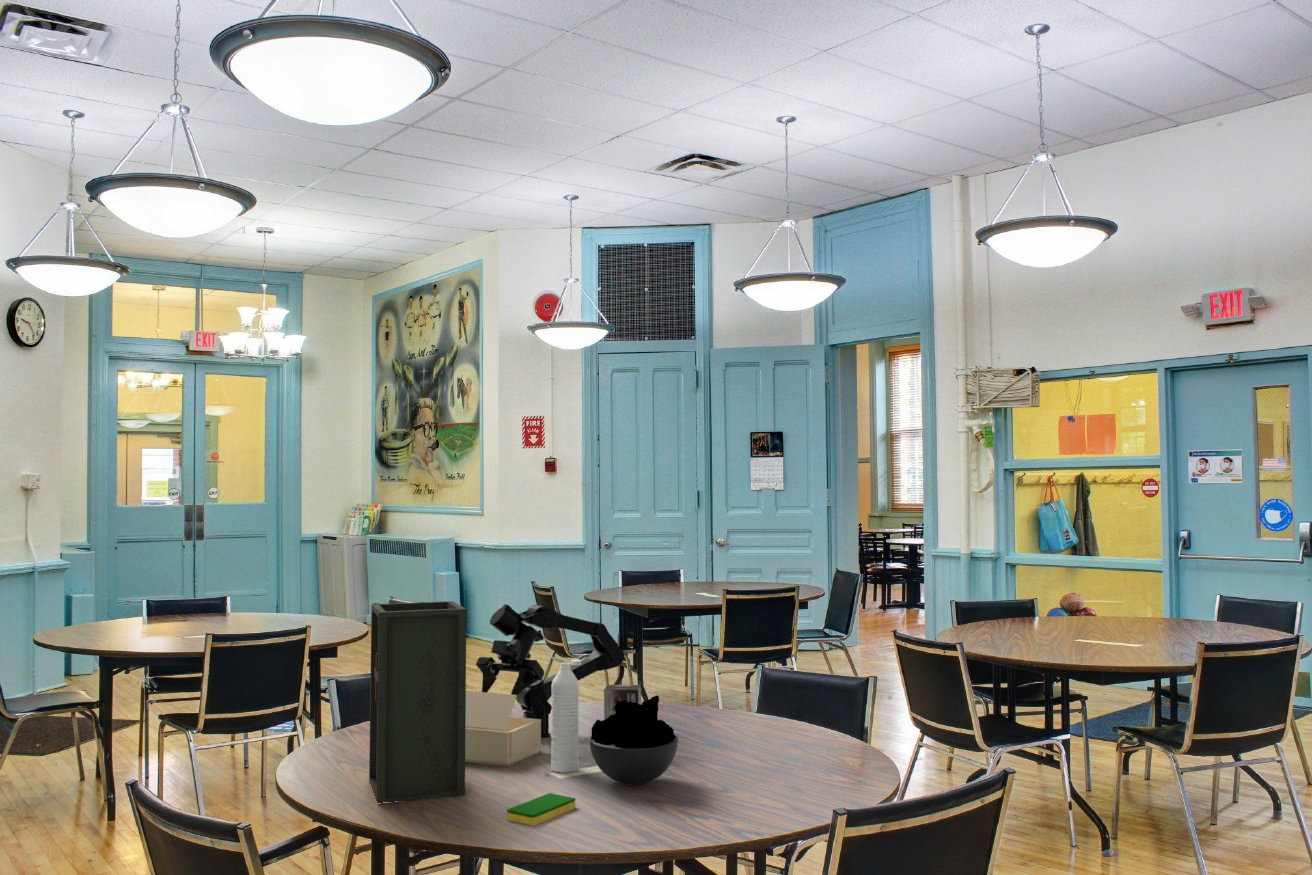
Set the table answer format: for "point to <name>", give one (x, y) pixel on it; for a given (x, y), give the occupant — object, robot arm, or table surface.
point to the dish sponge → (540, 809)
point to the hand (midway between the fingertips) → (497, 695)
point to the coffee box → (620, 696)
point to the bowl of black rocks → (633, 743)
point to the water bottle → (565, 720)
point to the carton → (503, 742)
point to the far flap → (488, 710)
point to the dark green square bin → (417, 701)
